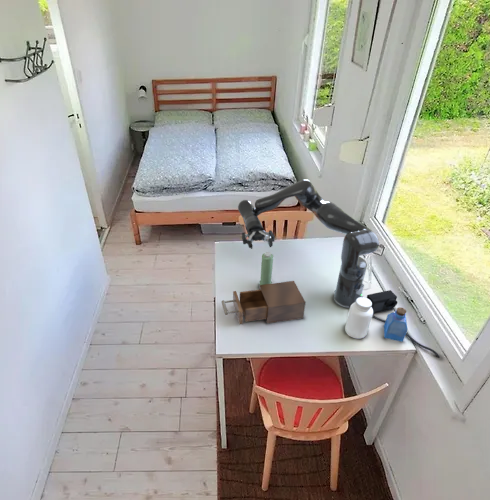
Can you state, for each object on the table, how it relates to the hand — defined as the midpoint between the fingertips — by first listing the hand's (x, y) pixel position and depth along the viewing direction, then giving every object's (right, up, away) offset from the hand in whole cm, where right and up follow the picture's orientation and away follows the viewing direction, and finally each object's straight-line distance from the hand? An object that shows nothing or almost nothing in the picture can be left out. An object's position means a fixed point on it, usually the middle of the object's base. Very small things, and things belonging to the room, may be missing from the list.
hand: (261, 246), depth 166 cm
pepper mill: (+2, -18, -1) cm, 18 cm away
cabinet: (+6, -26, -12) cm, 29 cm away
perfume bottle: (+46, -33, -24) cm, 61 cm away
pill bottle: (+32, -32, -23) cm, 51 cm away
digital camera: (+45, -26, -14) cm, 54 cm away
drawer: (-8, -27, -14) cm, 31 cm away
